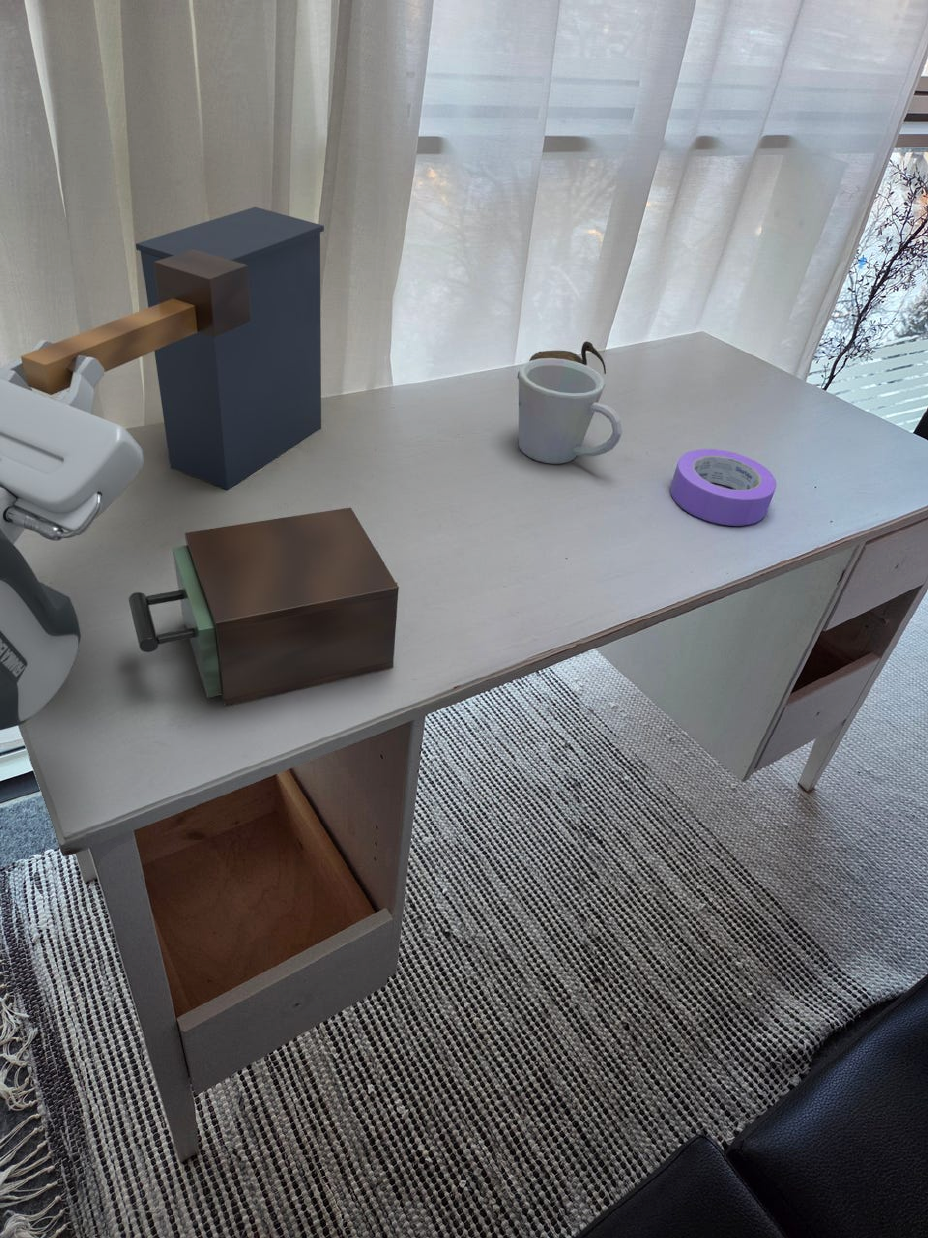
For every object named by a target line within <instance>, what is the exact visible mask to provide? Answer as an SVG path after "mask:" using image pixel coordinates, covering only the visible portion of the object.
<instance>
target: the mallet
mask: <svg viewBox="0 0 928 1238" xmlns="http://www.w3.org/2000/svg"><path fill="white" fill-rule="evenodd" d="M154 268H155V276H156V283H157V291H158V299H159V304H157V305H155V306H152V307H149V308H148V307H147V308H144V309H142V310H138V311H137V312H134V313H131V314H128V315H126V316H123V317H120V318H118V319H115V320H113V321H109V322H107V323H105V324H102V325H100V326H97V327H94V328H91V329H87V330H85V331H83V332H81V333H78V334H75V335H72V336H70V337H67V338H65V339H62V340H60V341H57V342H55V343H54V344H51V345H49V346H46V347H43V348H41V349H38V350H35V351H33V352H31V351H30V352H27V353H25V354H23V355H21V356H20V358H21V359H22V364H23V368H24V372H25V376H26V380H27V384H28V386H29V387H30V388H31V389H34V390H37V391H38V392H41V393H44V394H47V395H50V396H53V395H55V394H59V393H60V392H61V391H62V390H65V391H66V390H67V389H70V385H71V381H72V376H73V375H71V374H70V372H69V371H68V370H67V369H66V368H67V367H68V366H69V364H70V363H71V362H72V361H74V360H75V357H76V356H77V354H80V353H81V354H84V355H87V356H90V357H93V358H95V359H97V360H98V361H99V363H100V364H101V365H102V366H103V368H104V370H105V373H107V372H109V371H111V370H113V369H115V368H119V367H120V366H123V365H126V364H127V363H130V362H132V361H135V360H136V359H139V358H141V357H144V356H146V355H148V354H150V353H153V352H154V351H155V350H158V349H160V348H162V347H164V346H167V345H169V344H171V343H174V342H176V341H178V340H181V339H183V338H185V337H188V336H190V335H192V334H195V333H197V332H199V333H202V334H205V335H208V336H211V337H214V338H215V337H217V336H219V335H222V334H224V333H226V332H228V331H230V330H233V329H235V328H237V327H239V326H242V325H244V324H246V323H248V322H250V321H251V317H250V300H249V283H248V266H247V265H244V264H241V263H238V262H234V261H231V260H228V259H225V258H221V257H218V256H215V255H211V254H208V253H205V252H201V251H198V250H195V249H193V250H189V251H186V252H183V253H180V254H177V255H174V256H171V257H168V258H165V259H162V260H159V261H156V262H154Z"/></svg>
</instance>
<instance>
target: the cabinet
mask: <svg viewBox="0 0 928 1238" xmlns="http://www.w3.org/2000/svg"><path fill="white" fill-rule="evenodd" d="M184 539H185V546H187V547H188V550H189V553H190V556H191V559H192V562H193V565H194V568H195V571H196V574H197V576H198V579H199V582H200V585H201V588H202V591H203V594H204V597H205V600H206V603H207V606H208V609H209V612H210V615H211V618H212V621H213V624H214V627H215V634H216V643H217V651H218V660H219V668H220V677H221V686H222V694H221V695H220V696H221V699H222V701H223V705H224V707H225V708H227V707H231V706H236V705H240V704H243V703H244V704H245V703H249V702H251V701H252V702H253V701H257V700H261V699H265V698H266V699H267V698H269V697H274V696H278V695H282V694H287V693H291V692H295V691H300V690H304V689H309V688H312V687H317V686H321V685H325V684H329V683H330V684H331V683H334V682H339V681H342V680H347V679H351V678H352V679H353V678H356V677H359V676H363V675H369V674H373V673H377V672H382V671H386V670H389V669H393V668H394V659H395V647H396V646H395V645H396V632H397V631H396V630H397V619H398V618H397V617H398V603H399V602H398V601H399V589H400V588H399V585H398V583H397V582H396V580H395V579H394V577H393V576H392V573H391V572H390V570H389V569H388V567H387V565H386V563H385V562H384V561H383V559H382V557H381V555H380V554H379V552H378V550H377V549H376V547H375V546H374V543H373V542H372V540H371V539H370V537H369V535H368V534H367V532H366V530H365V529H364V527H363V525H362V523H361V522H360V521H359V519H358V517H357V515H356V513H355V512H354V511H353V509H352V507H345V508H344V507H343V508H338V509H332V510H326V511H320V512H319V511H318V512H313V513H312V512H311V513H305V514H299V515H292V516H286V517H280V518H272V519H265V520H259V521H253V522H247V523H240V524H233V525H225V526H221V527H220V526H219V527H213V528H208V529H200V530H194V531H193V530H192V531H187V532H184Z"/></svg>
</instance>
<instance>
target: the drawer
mask: <svg viewBox="0 0 928 1238" xmlns="http://www.w3.org/2000/svg"><path fill="white" fill-rule="evenodd" d="M171 548H172V549H171V550H172V554H173V555H172V556H173V563H174V569H175V575H176V582H177V589H178V590H172V591H171V590H170V591H167V592H161V593H155V594H150V595H149V594H148V595H146V594H145V593H144V592H139V591H136V592H133V593H132V594H130V595H129V596H128V604H129V608H130V612H131V617H132V620H133V624H134V630H135V633H136V638H137V642H138V647H139V649H140V650H141V651H142V652H145V653H152V652H155V651H156V650H157V649H158V647H159V645H163V644H169V643H174V642H179V641H185V640H189V641H190V644H191V648H192V652H193V654H194V657H195V662H196V665H197V667H198V671H199V674H200V677H201V681H202V685H203V688H204V692H205V694H206V697H207V698H212V697H216V696H221V694H222V686H221V677H220V668H219V660H218V651H217V643H216V634H215V627H214V624H213V621H212V618H211V615H210V612H209V609H208V606H207V603H206V600H205V597H204V594H203V591H202V588H201V585H200V582H199V579H198V576H197V574H196V571H195V568H194V565H193V562H192V559H191V556H190V553H189V550H188V547H187V546H186V545H181V546H176V547H171ZM177 601H179V603H180V609H181V615H182V618H183V619H182V620H183V621H184V625H185V629H180V630H179V629H178V630H174V631H170V632H169V631H168V632H164V633H159V634H157V632H156V627H155V625H154V620H153V617H152V613H151V609H150V606H153V605H154V606H155V605H159V604H165V603H170V602H177Z"/></svg>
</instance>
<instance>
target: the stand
mask: <svg viewBox="0 0 928 1238" xmlns="http://www.w3.org/2000/svg"><path fill="white" fill-rule="evenodd" d="M323 232H325V225H323V224H320V223H316V222H313V221H308V220H305V219H301V218H297V217H294V216H291V215H290V216H289V215H287V214H283V213H281V212H276V211H273V210H269V209H265V208H262V207H258V206H252V207H250V208H246V209H243V210H239V211H237V212H233V213H229V214H227V215H224V216H221V217H217V218H213V219H211V220H207V221H204V222H201V223H198V224H194V225H191V226H188V227H185V228H182V229H179V230H175V231H172V232H168V233H165V234H163V235H159V236H156V237H153V238H149V239H145V240H143V241H139V242H136V243H135V250H137V251H139V252H140V258H141V265H142V266H141V267H142V273H143V279H144V287H145V294H146V302H147V308H149V307H152V306H155V305H157V304H159V299H158V291H157V283H156V276H155V268H154V262H156V261H159V260H162V259H165V258H168V257H171V256H174V255H177V254H180V253H183V252H186V251H189V250H193V249H195V250H198V251H201V252H205V253H208V254H211V255H215V256H218V257H221V258H225V259H228V260H231V261H234V262H238V263H241V264H244V265H247V266H248V283H249V300H250V317H251V321H250V322H248V323H246V324H244V325H242V326H239V327H237V328H235V329H233V330H230V331H228V332H226V333H224V334H222V335H219V336H217V337H215V338H214V337H211V336H208V335H205V334H202V333H199V332H197V333H195V334H192V335H190V336H188V337H185V338H183V339H181V340H178V341H176V342H174V343H171V344H169V345H167V346H164V347H162V348H160V349H158V350H155V351H153V352H154V359H155V366H156V373H157V380H158V387H159V394H160V396H159V397H160V401H161V402H160V403H161V409H162V416H163V424H164V432H165V439H166V446H167V453H168V460H169V468H171V469H173V470H176V471H177V472H180V473H183V474H186V475H188V476H190V477H193V478H196V479H198V480H201V481H204V482H206V483H208V484H211V485H213V486H216V487H218V488H220V489H221V488H222V489H224V490H226V491H229V490H230V489H232V488H233V487H235V486H236V485H238V484H239V483H241V482H242V481H244V480H245V479H246V478H249V477H250V476H251V475H253V474H254V473H256V472H258V471H259V470H260V469H261V468H263V467H265V466H266V465H268V464H269V463H271V462H273V460H275V459H277V458H278V457H280V456H281V455H283V454H284V453H287V451H289V450H290V449H292V448H293V447H295V446H296V445H298V444H299V443H301V442H302V441H304V440H305V439H307V438H308V437H309V436H312V435H313V434H314V433H316V432H317V431H319V430H320V429H321V428H322V369H321V368H322V366H321V365H322V364H321V363H322V362H321V361H322V357H321V355H322V354H321V353H322V352H321V351H322V346H321V345H322V344H321V340H322V339H321V338H322V337H321V335H322V334H321V332H322V331H321V328H322V327H321V233H323Z"/></svg>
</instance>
